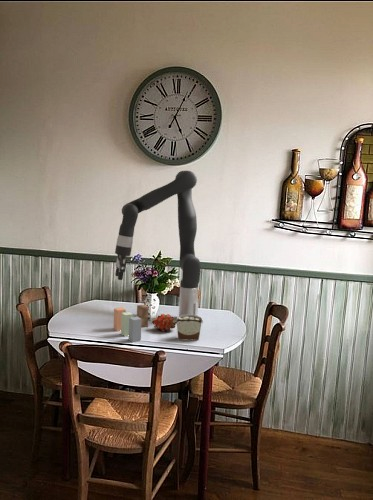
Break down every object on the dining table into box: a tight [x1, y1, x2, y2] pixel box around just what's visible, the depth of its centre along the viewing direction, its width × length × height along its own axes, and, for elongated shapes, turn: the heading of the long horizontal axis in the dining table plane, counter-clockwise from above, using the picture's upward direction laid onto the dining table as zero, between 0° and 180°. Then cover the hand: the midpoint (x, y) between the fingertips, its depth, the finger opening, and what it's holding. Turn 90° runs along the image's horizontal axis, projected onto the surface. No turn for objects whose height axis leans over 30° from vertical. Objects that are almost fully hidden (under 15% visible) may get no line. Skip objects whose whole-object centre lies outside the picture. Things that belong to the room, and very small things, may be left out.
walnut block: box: [136, 304, 149, 329], centre depth 223 cm, size 4×4×10 cm
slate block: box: [128, 316, 142, 343], centre depth 203 cm, size 4×4×10 cm
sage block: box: [120, 311, 134, 337], centre depth 210 cm, size 4×4×10 cm
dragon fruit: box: [151, 313, 177, 332], centre depth 219 cm, size 8×8×12 cm
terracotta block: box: [113, 306, 127, 332], centre depth 216 cm, size 4×4×10 cm
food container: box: [175, 315, 204, 341], centre depth 210 cm, size 12×6×10 cm, turn 92°
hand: (118, 277), depth 224 cm, fingers open, 8 cm apart
